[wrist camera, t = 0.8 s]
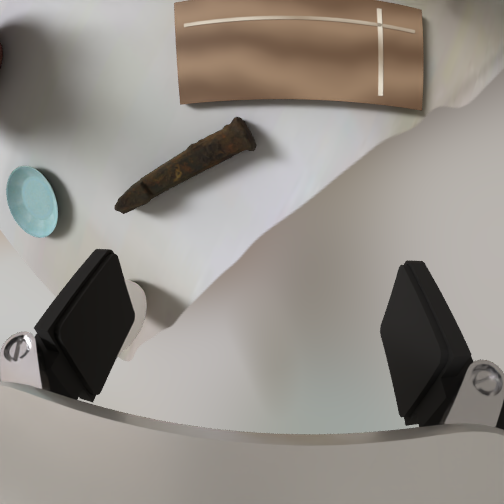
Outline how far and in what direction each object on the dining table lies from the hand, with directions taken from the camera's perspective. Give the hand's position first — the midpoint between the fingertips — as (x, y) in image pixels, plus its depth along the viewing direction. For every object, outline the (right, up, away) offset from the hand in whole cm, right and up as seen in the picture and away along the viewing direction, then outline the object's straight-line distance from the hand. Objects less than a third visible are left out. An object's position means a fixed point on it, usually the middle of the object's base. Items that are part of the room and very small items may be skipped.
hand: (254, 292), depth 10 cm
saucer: (-33, +10, +30) cm, 45 cm away
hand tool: (-8, +11, +26) cm, 29 cm away
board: (+5, +23, +17) cm, 29 cm away
